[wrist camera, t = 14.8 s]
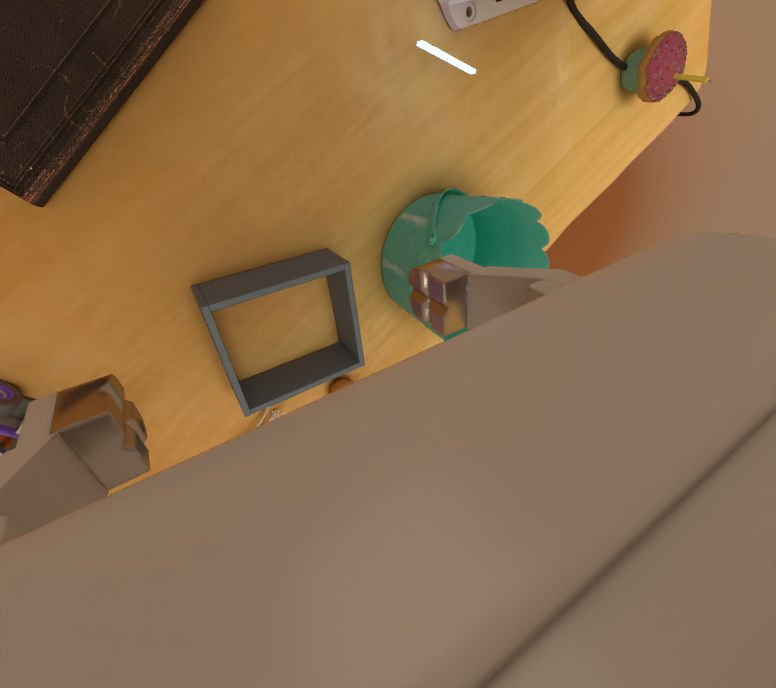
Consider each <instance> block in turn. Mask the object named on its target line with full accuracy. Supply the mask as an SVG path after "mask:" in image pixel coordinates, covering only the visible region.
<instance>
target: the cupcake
mask: <svg viewBox="0 0 776 688" xmlns="http://www.w3.org/2000/svg"><path fill="white" fill-rule="evenodd" d="M686 48H687V47H686V42H685V40H684V38H683V35H682V34H680V32H678V31H673V30H669V31H666V32H663V33H662V34H660V35H659V36H656V37H655V38H654V39H653V40H652V42H651V43H650V44H649V45H648V46H646V47H644V48H642V49H640V50H637V51H635V52H633V53H632V54H630V55H629V57H628V58H627V60H626V61H625V64H627V65H628V68H627V69H626V70H625V71H623V70H622V74H621V84H622V86H623V88H624V89H626V90H630V91H633V92H635V93H637V94H638V96H639V98H640V99H641V100H642V101H643V102H660V100H662V99H663V98H664V97H666V95H667V94H669V93H670V92H671V91H672V89H673V87H675V86H676V84H677V83H678V81H679V80H686V81H694V82H702V83H706V82H707V81H708V82H712V83H713V81H712V80H709V77H703V76H694V75H686V74H683V72H684V69H685V66H686V65H685V61H686V55H687V49H686Z"/></svg>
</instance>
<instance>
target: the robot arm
mask: <svg viewBox="0 0 776 688" xmlns="http://www.w3.org/2000/svg"><path fill="white" fill-rule="evenodd" d="M538 1H541V0H438V2H439V3H440V5H441V8H442V11H443V13H444V16H445V18H446V20H447V22H448V24H449V26H450V28H451V29H452V30H454V31H459V30H462V29H464V28H467V27H470V26H473V25H475V24H478V23H481V22H484V21H486V20H489V19H492V18H495V17H497V16H500V15H503V14H506V13H508V12H511V11H514V10H517V9H519V8H522V7H525V6H528V5H530V4H533V3H536V2H538ZM567 3H568V7H569V9H570V11H571V13H572V14H573V16H574V17H575V19H576V20H577V22H578V23H579V25H580V26H581V27H582V28H583V29H584V30H585V31H586V32H587V33H588V34H589V36H590V37H591V38H592V39H593V40H594V41H595V43H596V44H597V45H598V46H599V48H600V49H601V50H602V52H603V53H604V54H605V55H606V56H607V58H608V59H609V60H610V61H611V62H612V63H613V64H615V65H616V66H617V67H619V68H620V69H622V70H623V71H625V70H626V69H627V68H628V65H627V64H625V63H624V62H622V61H621V60H620V59H619V58H618V57H616V56H615V55H614V53H613V52H612V51H611V50H610V49H609V48H608V46H607V45H606V44H605V42H604V41H603V40H602V38H601V37H600V36H599V34H598V33H597V32H596V31H595V30H594V28H593V27H592V26H591V25H590V24H589V23H588V22H587V21H586V20H585V18H584V17H583V16H582V15H581V13H580V12H579V11H578V9H577V7H576V5H575V1H574V0H567ZM466 10H467V12H468V15H466ZM417 46H419V47H421V48H423V49H424V50H426V51H428V52H430V53H432V54H434V55H436V56H438V57H440V58H441V59H443V60H445V61H447V62H449V63H451V64H453V65H455V66H456V67H458V68H460V69H462V70H464V71H466V72H468V73H470V74H473V73H476V70H475V69H474V68H472V67H470V66H468V65H466V64H465V63H463V62H461V61H459V60H457V59H455V58H454V57H452V56H450V55H448V54H446V53H444V52H443V51H441V50H439V49H437V48H435V47H434V46H432V45H430V44H428V43H426V42H424V41H423V40H422V41H418V42H417ZM678 83H679V84H682V85H683V86H685V87H686V88H687V89H688V91H689V92H690V94H691V95H692V97H693V99H694V100H695V103H696V109H695V110H694V111H691V112H680V113H679V114H678V115H677V116H692V115H695V114H696V113H698V112H699V110H700V108H701V101H700V98H699V96H698V94H697V92H696V91H695V89H694V88H693V86H692V85H691V84H690V83H689V82H688V81H686V80H679V81H678ZM409 284H410V285H411V286H412V287H413V290H412V293H411V295H410V302H411V307H412V310H413V312H414V314H415V315H416V317H417V318H418V319H419V320H421V321H422V322H427V323H431V328H432V329H434V330H435V331H437V332H438V333H440V334H441V335H443V336H444V337H446V336H448V335H450V334H453V333H455V332H458V331H460V330H462V329H465V328H467V329H470V330H468V331H466V332H464V333H462V334H459V335H457V336H455V337H453V338H451V339H448V340H446V341H444V342H442V343H440V344H438V345H435V346H433V347H431V348H429V349H427V350H425V351H422V352H420V353H418V354H416V355H414V356H412V357H409V358H407V359H405V360H403V361H401V362H398V363H396V364H394V365H392V366H390V367H388V368H385V369H383V370H381V371H379V372H377V373H374V374H372V375H370V376H368V377H366V378H364V379H361V380H359V381H357V382H355V383H353V384H351V385H348V386H346V387H344V388H342V389H340V390H337V391H335V392H333V393H331V394H329V395H327V396H324V397H322V398H320V399H318V400H316V401H313V402H311V403H309V404H307V405H305V406H303V407H300V408H298V409H296V410H294V411H292V412H289V413H287V414H285V415H283V416H281V417H279V418H276V419H274V420H272V421H270V422H268V423H266V424H263V425H261V426H259V427H257V428H255V429H252V430H250V431H248V432H246V433H244V434H242V435H239V436H237V437H235V438H233V439H231V440H228V441H226V442H224V443H222V444H220V445H218V446H215V447H213V448H211V449H209V450H207V451H205V452H202V453H200V454H198V455H196V456H194V457H191V458H189V459H187V460H185V461H183V462H181V463H178V464H176V465H174V466H172V467H170V468H167V469H165V470H163V471H161V472H159V473H157V474H154V475H152V476H150V477H148V478H146V479H144V480H141V481H139V482H137V483H135V484H133V485H131V486H128V487H126V488H124V489H122V490H120V491H117V492H115V493H113V494H111V495H109V496H107V494H108V493H109V492H108V490H110V489H112V488H115V487H117V486H119V485H121V484H123V483H125V482H127V481H129V480H131V479H133V478H135V477H137V476H140V475H142V474H144V473H146V472H148V471H150V462H149V451H148V449H147V448H146V446H145V445H144V442H145V441H146V439H147V433H146V428H145V425H144V422H143V419H142V417H141V415H140V413H139V411H138V410H137V408H136V406H135V405H134V403H132V402H130V401H127V400H124V388H123V387H122V385H121V384H120V382H119V381H118V379H117V378H116V377H115V376H114V375H112V374H110V375H107V376H104V377H101V378H98V379H95V380H92V381H89V382H86V383H83V384H80V385H77V386H74V387H71V388H68V389H65V390H62V391H60V392H58V391H57V392H55V393H52V394H50V395H47V396H44V397H42V398H39V399H36V400H34V401H31V402H29V404H28V407H27V410H26V414H25V417H24V420H23V424H22V427H21V430H20V434H19V437H18V440H17V444H16V447H15V448H14V449H12V450H9V451H7V452H5V453H4V454H3V455H2V456H1V457H0V688H776V239H773V238H768V237H764V236H757V235H751V234H738V233H720V232H719V233H718V232H716V233H715V232H707V233H704V232H698V233H697V232H695V233H682V234H678V235H675V236H673V237H670V238H668V239H666V240H664V241H662V242H660V243H658V244H655V245H653V246H651V247H649V248H647V249H645V250H642V251H640V252H638V253H636V254H634V255H632V256H630V257H627V258H625V259H623V260H621V261H618V262H616V263H614V264H612V265H610V266H607V267H605V268H603V269H601V270H599V271H597V272H595V273H592V274H591V275H588V276H586V277H582V276H579V275H576V274H573V273H571V272H568V271H565V270H559V269H538V268H517V267H496V266H488V267H482V266H480V265H478V264H475V263H473V262H470V261H468V260H466V259H463V258H461V257H458V256H456V255H454V254H449V255H446V256H444V257H441V258H438V259H435V260H433V261H430V262H428V263H425V264H422V265H420V266H417V267H415V268H413V269H411V270H410V272H409ZM106 496H107V497H106Z"/></svg>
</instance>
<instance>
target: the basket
mask: <svg viewBox="0 0 776 688" xmlns="http://www.w3.org/2000/svg"><path fill="white" fill-rule="evenodd" d="M522 202H523V201H522V200H521V199H511V198H505V197H500V198H497V197H487V196H468V195H467V194H466V193H464V192H462V191H461V190H458V189H455V188H449V189H447V190H445V191H444V192H442V193H438V194H437V193H434V194H429V195H427V196H423V197H422V198H419V199H417V200H416V201H414V202H413V203H411V205H409V206H407V208H406V209H405V210H403V211H402V213H401V214H400V215H399V216H398V217H397V219H396V220H395V221H394V223H393V225H392V226H391V228H390V231H389V232H388V234H387V238H386V239H385V244H384V247H383V252H382V259H381V263H382V265H381V269H382V275H383V281H384V285H385V287H386V290H387V291H388V293H389V295H390V296H391V298H392V299H393V300H394V301H395V302H396V303H397V304H398V305H400V306H401V307H403V308H404V309H405V310H406V311H407V312H409V313H410V314H411V315H412V316H414V317H415V318H416V319H418V318H417V317H416V315H415V314H414V312H413V310H412V307H411V302H410V295H411V293H412V290H413V287H412V286H411V285H410V284H409V272H410V270H411V269H413V268H415V267H417V266H420V265H422V264H425V263H428V262H430V261H433V260H435V259H438V258H441V257H444V256H446V255H449V254H454V255H456V256H458V257H461V258H463V259H466V260H468V261H470V262H473V263H475V264H478V265H480V266H482V267H488V266H496V267H517V268H538V269H548V268H549V259H548V256H547V255H546V253H545V252H544V251H543V250H542V248H543V247H545V246H546V245H547V244H548V242H549V233H548V231H547V229H546V228H545V227H544V226H543V225H542V224H541V223H539V222H537V220H539V219H540V217H541V213H540V211H539V210H538V209H537V208H536V207H534V206H531V205H529V204H526V203H522ZM418 320H419V319H418ZM419 321H420V322H422V321H421V320H419ZM422 323H423V324H424V325H425V326H427V327H428V328H429V329H430V330H431V331H432V332H434V333H435V334H437V335H438V336H439V337H441V338H442V339H443V340H444V341H446V340H448V339H451V338H453V337H455V336H457V335H459V334H462V333H464V332H466V331H468V330H470V329H467V328H465V329H462V330H460V331H458V332H455V333H453V334H450V335H448V336H446V337H444V336H443V335H441V334H440V333H438V332H437V331H435V330H434V329H432V328H431V323H427V322H422Z"/></svg>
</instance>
